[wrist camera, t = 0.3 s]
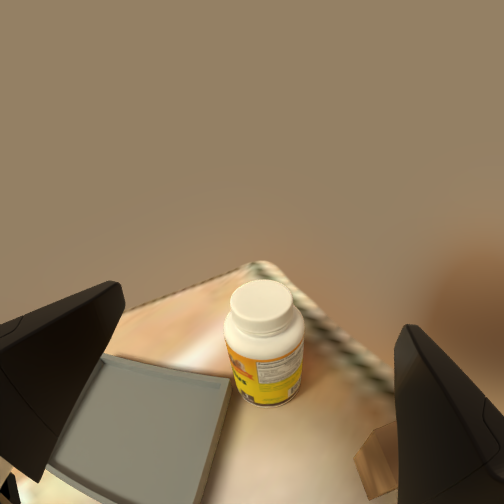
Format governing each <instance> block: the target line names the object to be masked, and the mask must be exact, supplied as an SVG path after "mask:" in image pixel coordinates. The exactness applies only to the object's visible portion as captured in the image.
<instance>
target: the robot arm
mask: <svg viewBox="0 0 504 504" xmlns="http://www.w3.org/2000/svg"><path fill="white" fill-rule="evenodd" d="M124 309H125V299H124V295H123V291H122V287H121V285H120V283H118V282H115V281H106V282H104V283H101V284H99V285H96V286H94V287H91V288H89V289H86V290H84V291H81V292H79V293H76V294H74V295H71V296H69V297H66V298H64V299H61V300H59V301H57V302H54V303H52V304H49V305H47V306H44V307H42V308H40V309H37V310H35V311H32V312H30V313H28V314H25V315H24V316H20V317H18V318H16V319H13V320H11V321H8V322H6V323H3V324H0V504H21V502H20V498H19V493H18V489H17V484H16V479H15V475H14V474H13V473H12V472H11V470H12V469H13V467H15V468H16V469H18V470H19V471H20V472H22V473H23V474H25V475H26V476H28V477H29V478H30V479H32V480H33V481H35V482H36V483H39V481H40V480H41V477H42V475H43V472H44V470H45V468H46V465H47V463H48V461H49V458H50V456H51V454H52V452H53V450H54V447H55V445H56V443H57V441H58V438H59V436H60V434H61V432H62V430H63V428H64V426H65V424H66V422H67V420H68V418H69V416H70V414H71V412H72V410H73V408H74V406H75V404H76V402H77V400H78V398H79V396H80V394H81V392H82V390H83V389H84V387H85V385H86V383H87V381H88V379H89V377H90V376H91V374H92V372H93V370H94V368H95V367H96V365H97V363H98V361H99V359H100V358H101V356H102V354H103V352H104V351H105V349H106V347H107V345H108V343H109V341H110V339H111V337H112V335H113V333H114V330H115V328H116V326H117V324H118V322H119V320H120V318H121V315H122V313H123V311H124ZM394 394H395V407H396V420H397V438H398V504H504V416H503V415H502V414H501V413H500V411H498V409H497V408H496V407H495V406H494V405H493V404H492V403H491V401H490V400H489V399H488V398H487V397H485V395H484V394H483V393H482V391H480V389H479V388H478V387H477V386H476V385H475V384H474V383H473V382H472V381H471V379H470V378H469V377H468V376H467V375H466V374H465V373H464V372H463V371H462V370H461V369H460V368H459V367H458V366H457V365H456V363H455V362H453V360H452V359H451V358H450V357H449V356H447V354H446V353H445V352H444V351H443V350H442V349H441V348H440V347H439V346H438V345H437V344H436V343H435V342H434V341H433V340H432V339H431V338H430V337H429V336H428V335H427V334H426V333H425V332H424V331H423V330H422V329H421V328H420V327H419V326H418V325H412V324H411V325H410V324H406V325H404V326H403V328H402V330H401V333H400V335H399V337H398V339H397V342H396V344H395V348H394Z"/></svg>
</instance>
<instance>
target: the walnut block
mask: <svg viewBox="0 0 504 504" xmlns="http://www.w3.org/2000/svg"><path fill="white" fill-rule="evenodd" d="M353 459H354V462H355V464H356V467H357V470H358V472H359V475H360V478H361V480H362V483H363V486H364V488H365V491H366V494H367V497H368V499H369V500H372V499H374V498H377V497H379V496H381V495H384V494H386V493H388V492H390V491H393V490H395V489H397V488H398V438H397V421H395V422H392V423H390V424H388V425H385V426H383V427H380V428H378V429H375V430H373V432H372V433H371V435H370V436H369V438H368V439H367V440H366V442H365V443H364V445H363V446H362V447H361V449H360V450H359V451H358V453H357V454H356V455H355V457H354V458H353Z"/></svg>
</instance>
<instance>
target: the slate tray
mask: <svg viewBox="0 0 504 504" xmlns="http://www.w3.org/2000/svg"><path fill="white" fill-rule="evenodd" d="M232 390H233V388H232V385H231V381H230V379H229V378H221V377H214V376H208V375H201V374H195V373H189V372H184V371H178V370H173V369H168V368H163V367H158V366H154V365H149V364H145V363H140V362H136V361H132V360H128V359H124V358H120V357H116V356H112V355H109V354H105V353H103V354H102V356H101V358H100V359H99V361H98V363H97V365H96V367H95V368H94V370H93V372H92V374H91V376H90V377H89V379H88V381H87V383H86V385H85V387H84V389H83V390H82V392H81V394H80V396H79V398H78V400H77V402H76V404H75V406H74V408H73V410H72V412H71V414H70V416H69V418H68V420H67V422H66V424H65V426H64V428H63V430H62V432H61V434H60V436H59V438H58V441H57V443H56V445H55V447H54V450H53V452H52V454H51V456H50V458H49V461H48V463H47V465H46V468H45V469H46V470H48V471H49V472H51V473H52V474H53V475H55V476H56V477H58V478H59V479H61V480H62V481H64V482H66V483H67V484H69V485H70V486H72V487H74V488H75V489H77V490H79V491H80V492H82V493H84V494H86V495H87V496H89V497H91V498H93V499H95V500H97V501H98V502H100V503H102V504H200V503H201V499H202V496H203V493H204V489H205V486H206V483H207V479H208V476H209V472H210V469H211V465H212V462H213V458H214V455H215V451H216V448H217V444H218V441H219V437H220V434H221V430H222V427H223V423H224V419H225V416H226V412H227V409H228V405H229V401H230V398H231V394H232Z"/></svg>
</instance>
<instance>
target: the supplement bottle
mask: <svg viewBox="0 0 504 504" xmlns="http://www.w3.org/2000/svg"><path fill="white" fill-rule="evenodd" d="M230 305H231V311H230V312H229V313H228V315H227V317H226V319H225V322H224V337H225V342H226V346H227V349H228V354H229V358H230V362H231V366H232V370H233V374H234V378H235V381H236V385H237V388H238V391H239V393H240V394H241V396H242V397H243V398H244V399H245V400H246V401H247V402H249V403H250V404H252V405H255V406H258V407H263V408H272V407H278V406H281V405H283V404H285V403H287V402H288V401H290V400H291V399H292V398H293V397H294V396H295V395H296V393H297V392H298V390H299V387H300V383H301V374H302V363H303V348H304V332H305V325H304V319H303V316H302V314H301V312H300V311H299V310H298V309H297V307H296V306H294V305H293V296H292V294H291V292H290V290H289V289H288V288H287V287H286V286H285V285H283V284H281V283H279V282H277V281H273V280H254V281H251V282H248V283H245V284H243V285H241V286H240V287H239V288H237V289H236V290H235V291H234V293H233V294H232V296H231V300H230Z"/></svg>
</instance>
